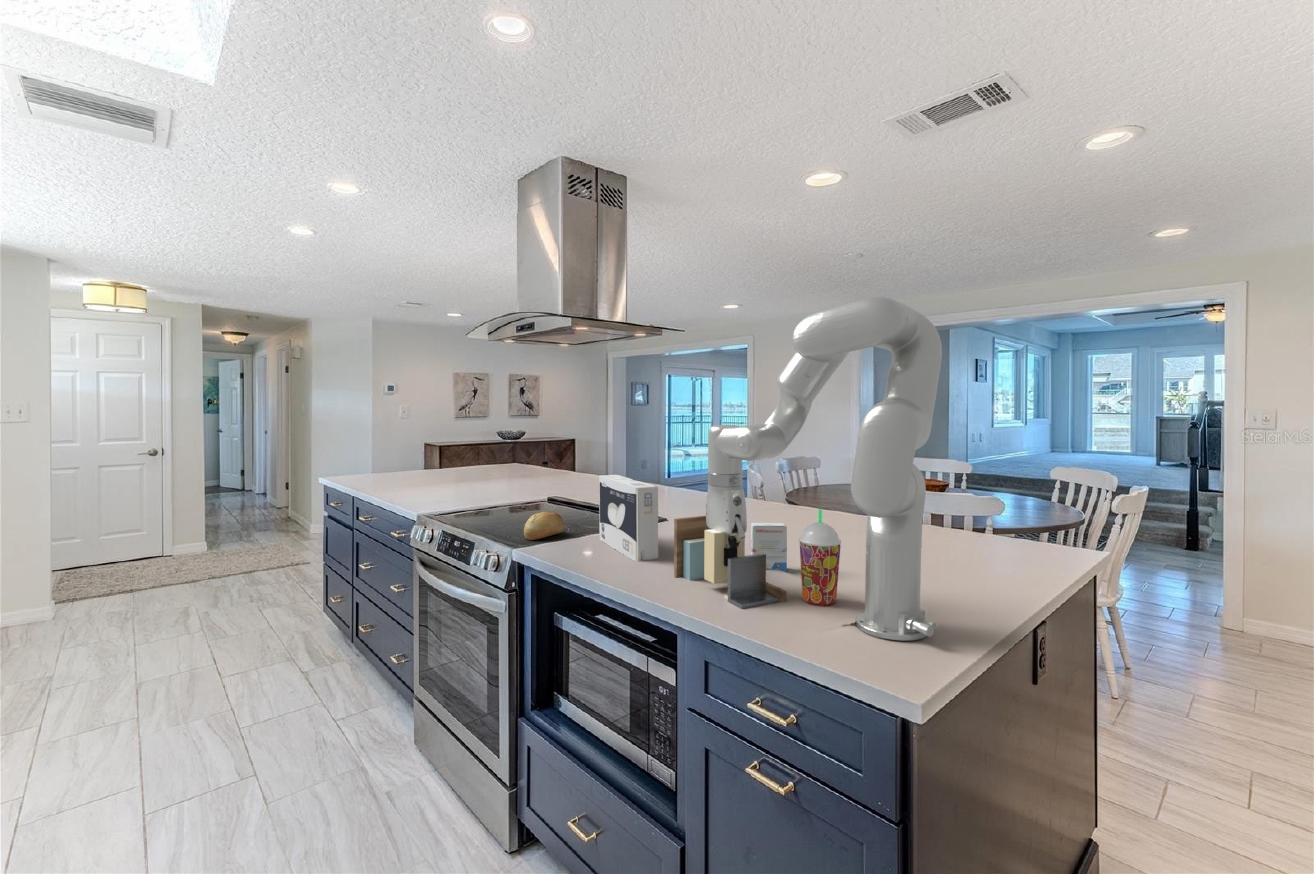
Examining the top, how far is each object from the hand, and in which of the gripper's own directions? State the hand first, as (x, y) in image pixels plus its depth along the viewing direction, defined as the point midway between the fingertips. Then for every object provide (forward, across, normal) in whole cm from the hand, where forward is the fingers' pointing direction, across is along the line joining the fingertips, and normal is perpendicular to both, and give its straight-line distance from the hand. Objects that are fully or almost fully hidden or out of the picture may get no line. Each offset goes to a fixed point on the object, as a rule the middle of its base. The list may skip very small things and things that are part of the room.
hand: (724, 561), depth 132 cm
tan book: (+4, 0, 0) cm, 4 cm away
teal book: (+6, +10, 0) cm, 12 cm away
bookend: (+6, -11, 0) cm, 12 cm away
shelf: (+7, 0, 0) cm, 7 cm away
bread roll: (+7, +73, +20) cm, 76 cm away
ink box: (+7, +9, -20) cm, 23 cm away
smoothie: (+7, -17, -12) cm, 22 cm away
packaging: (+7, +45, +4) cm, 46 cm away
